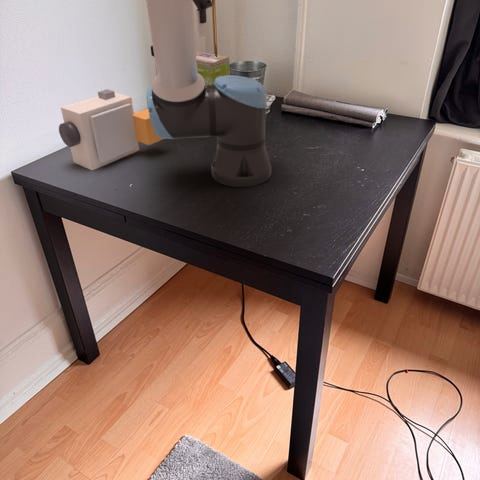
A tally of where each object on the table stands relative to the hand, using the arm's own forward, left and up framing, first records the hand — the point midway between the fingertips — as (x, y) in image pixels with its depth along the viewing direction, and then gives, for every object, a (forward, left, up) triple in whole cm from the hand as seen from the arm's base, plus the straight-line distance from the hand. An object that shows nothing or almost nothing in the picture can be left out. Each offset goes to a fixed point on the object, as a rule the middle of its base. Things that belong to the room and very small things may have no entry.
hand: (181, 34), depth 128 cm
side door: (-6, +27, -25) cm, 37 cm away
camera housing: (+2, +31, -27) cm, 41 cm away
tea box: (+14, -24, -27) cm, 39 cm away
